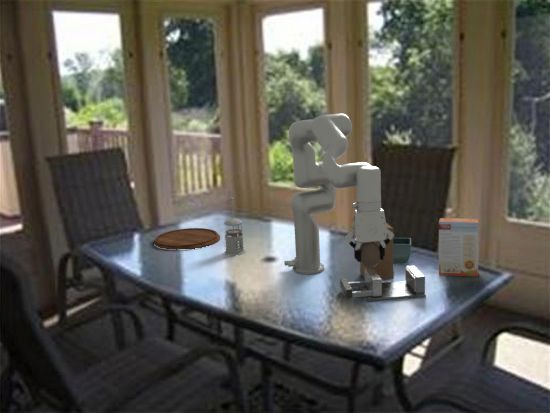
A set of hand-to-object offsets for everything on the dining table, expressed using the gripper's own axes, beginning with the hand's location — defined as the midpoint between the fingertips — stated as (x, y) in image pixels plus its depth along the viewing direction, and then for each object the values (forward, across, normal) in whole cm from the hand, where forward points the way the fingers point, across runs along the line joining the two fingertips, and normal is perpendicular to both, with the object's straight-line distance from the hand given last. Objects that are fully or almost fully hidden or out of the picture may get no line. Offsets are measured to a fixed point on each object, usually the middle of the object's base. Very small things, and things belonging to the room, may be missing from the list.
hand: (369, 259), depth 195 cm
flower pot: (+18, +24, +44) cm, 53 cm away
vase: (+2, 0, 0) cm, 2 cm away
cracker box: (+18, +41, +25) cm, 51 cm away
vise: (+17, +11, +13) cm, 24 cm away
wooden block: (+18, +11, +30) cm, 37 cm away
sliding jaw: (+16, 0, +13) cm, 21 cm away
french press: (+18, -39, +77) cm, 88 cm away
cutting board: (+19, -61, +102) cm, 120 cm away
